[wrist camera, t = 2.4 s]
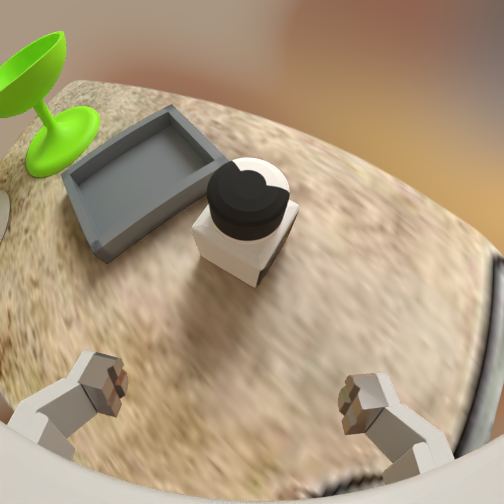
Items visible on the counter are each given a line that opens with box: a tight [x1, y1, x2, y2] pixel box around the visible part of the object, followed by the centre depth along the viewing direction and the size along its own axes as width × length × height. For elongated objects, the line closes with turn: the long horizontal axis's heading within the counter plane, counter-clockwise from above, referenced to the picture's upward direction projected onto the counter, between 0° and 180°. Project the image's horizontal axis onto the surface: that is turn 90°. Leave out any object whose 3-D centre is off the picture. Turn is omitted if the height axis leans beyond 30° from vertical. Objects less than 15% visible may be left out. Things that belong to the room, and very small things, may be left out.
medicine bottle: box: [191, 158, 299, 288], centre depth 25 cm, size 7×7×12 cm
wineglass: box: [0, 31, 100, 177], centre depth 27 cm, size 16×16×18 cm
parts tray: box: [61, 104, 229, 264], centre depth 31 cm, size 18×14×4 cm
